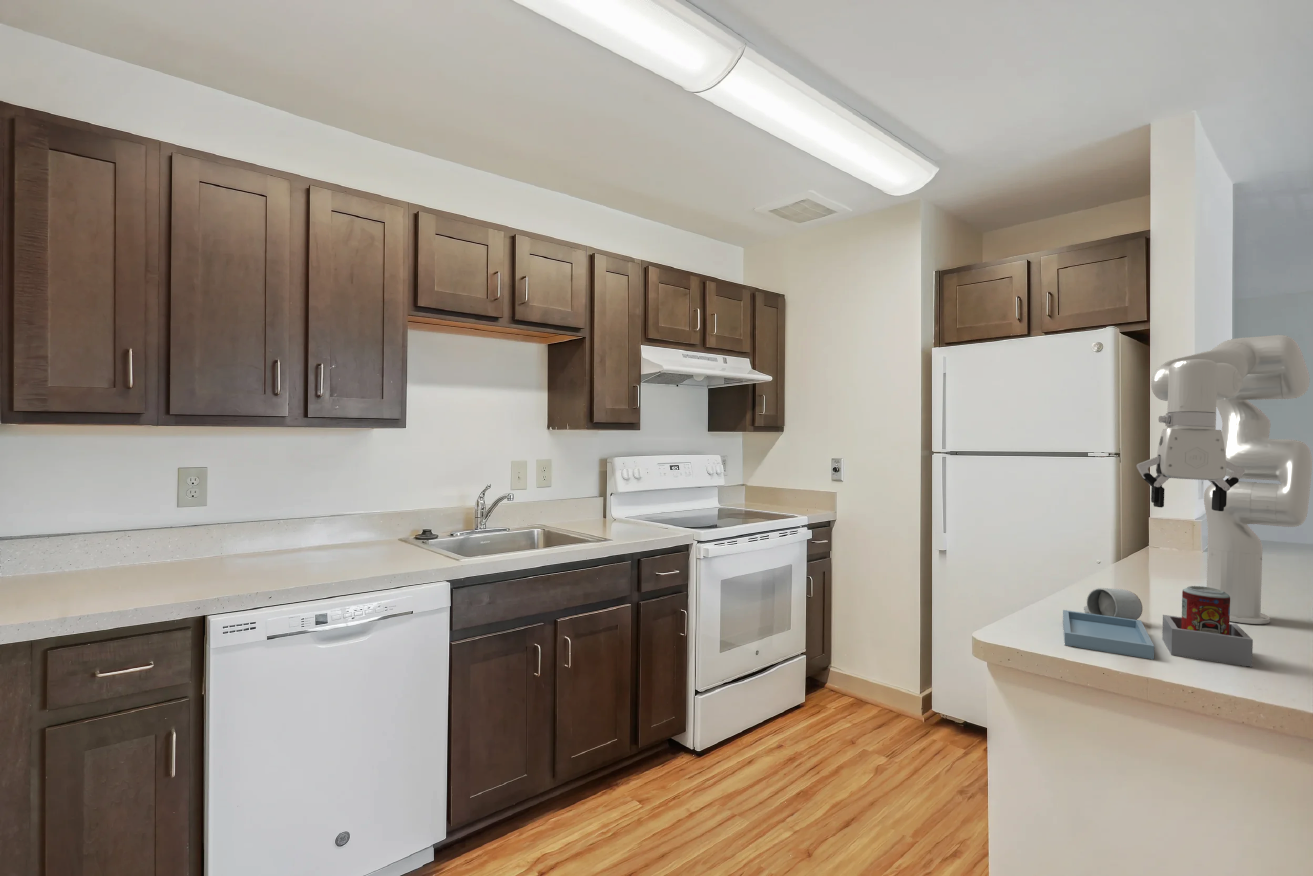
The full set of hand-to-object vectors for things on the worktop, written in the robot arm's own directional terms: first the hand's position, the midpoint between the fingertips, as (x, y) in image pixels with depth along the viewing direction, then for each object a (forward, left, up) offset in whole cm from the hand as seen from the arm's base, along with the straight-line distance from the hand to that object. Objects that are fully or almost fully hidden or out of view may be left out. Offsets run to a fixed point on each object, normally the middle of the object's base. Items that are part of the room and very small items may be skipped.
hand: (1187, 508), depth 128 cm
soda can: (+2, +3, -28) cm, 28 cm away
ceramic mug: (-14, -11, -28) cm, 33 cm away
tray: (+3, -13, -27) cm, 31 cm away
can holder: (+2, +3, -27) cm, 28 cm away
